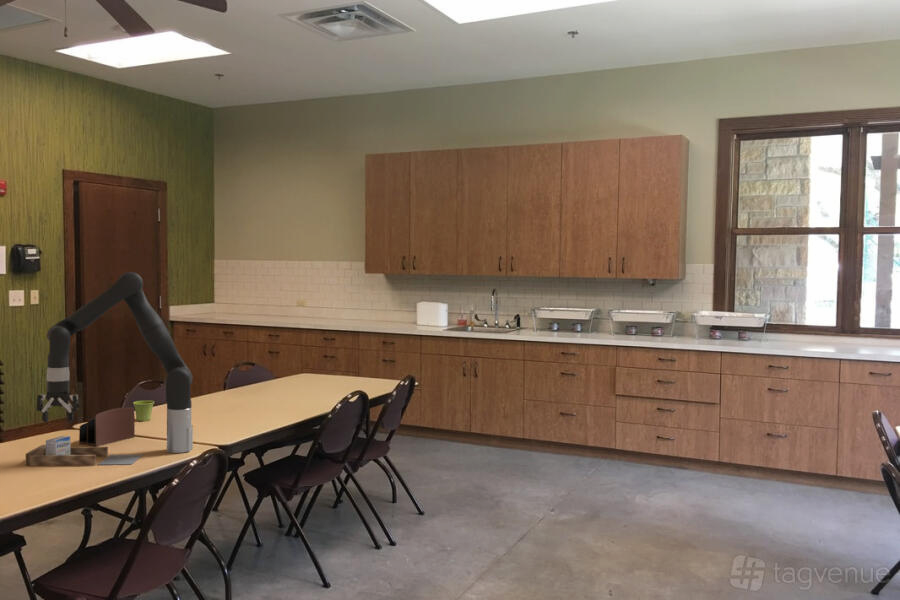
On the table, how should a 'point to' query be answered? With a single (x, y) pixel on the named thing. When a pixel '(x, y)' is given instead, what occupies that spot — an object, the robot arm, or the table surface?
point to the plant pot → (143, 410)
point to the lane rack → (65, 456)
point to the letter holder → (108, 427)
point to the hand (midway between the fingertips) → (57, 422)
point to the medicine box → (58, 446)
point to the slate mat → (120, 460)
